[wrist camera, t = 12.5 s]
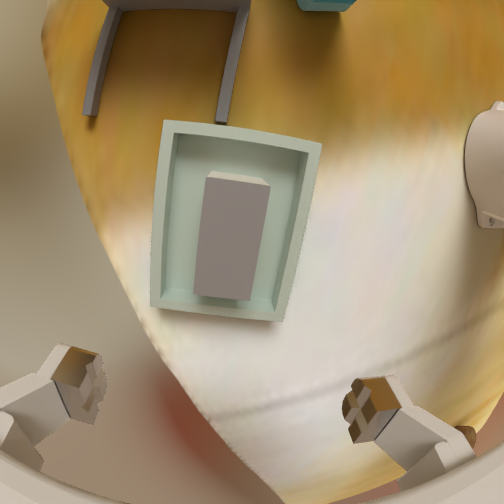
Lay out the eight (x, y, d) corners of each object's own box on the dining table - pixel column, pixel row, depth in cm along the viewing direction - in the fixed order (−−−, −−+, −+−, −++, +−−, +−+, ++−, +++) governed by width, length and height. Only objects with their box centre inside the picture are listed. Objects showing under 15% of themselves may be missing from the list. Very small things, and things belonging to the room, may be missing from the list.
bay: (250, 3, 19) (262, -57, 10) (226, 123, 24) (224, 107, 14) (117, 2, 18) (76, -43, 8) (88, 116, 22) (24, 108, 12)
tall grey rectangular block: (261, 178, 25) (270, 187, 19) (245, 269, 28) (249, 300, 22) (211, 170, 24) (205, 177, 19) (200, 264, 27) (192, 294, 22)
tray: (310, 143, 25) (322, 143, 22) (277, 303, 31) (282, 321, 28) (172, 123, 23) (163, 119, 20) (157, 289, 29) (150, 306, 26)
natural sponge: (472, 413, 51) (488, 436, 41) (458, 432, 54) (471, 453, 44) (452, 423, 50) (468, 448, 40) (437, 441, 53) (451, 465, 44)
